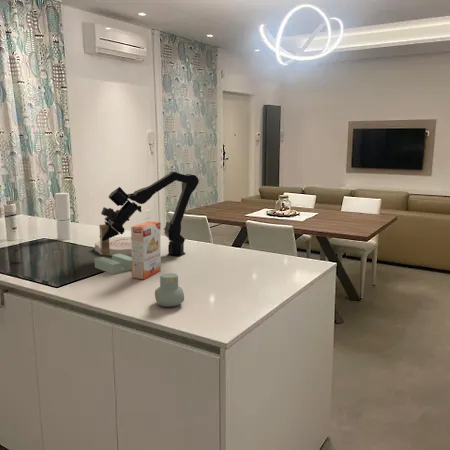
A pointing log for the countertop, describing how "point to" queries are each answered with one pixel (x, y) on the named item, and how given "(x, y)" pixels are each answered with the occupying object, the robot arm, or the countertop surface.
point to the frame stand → (114, 263)
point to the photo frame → (104, 244)
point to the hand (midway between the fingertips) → (101, 238)
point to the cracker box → (145, 249)
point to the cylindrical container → (63, 216)
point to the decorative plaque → (117, 246)
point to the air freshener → (169, 291)
